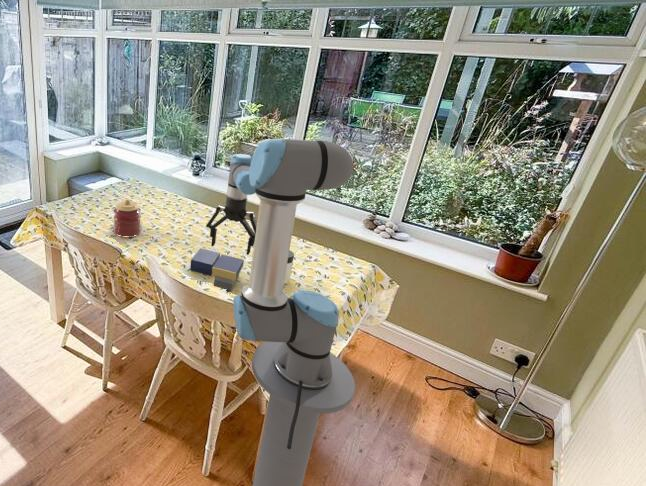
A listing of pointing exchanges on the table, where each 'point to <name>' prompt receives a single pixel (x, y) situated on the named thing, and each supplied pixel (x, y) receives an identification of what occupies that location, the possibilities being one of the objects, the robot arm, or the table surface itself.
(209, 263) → the navy stack
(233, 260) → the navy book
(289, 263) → the jar
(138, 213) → the kitchen canister
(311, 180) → the robot arm
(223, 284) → the grey stack
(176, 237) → the table surface
